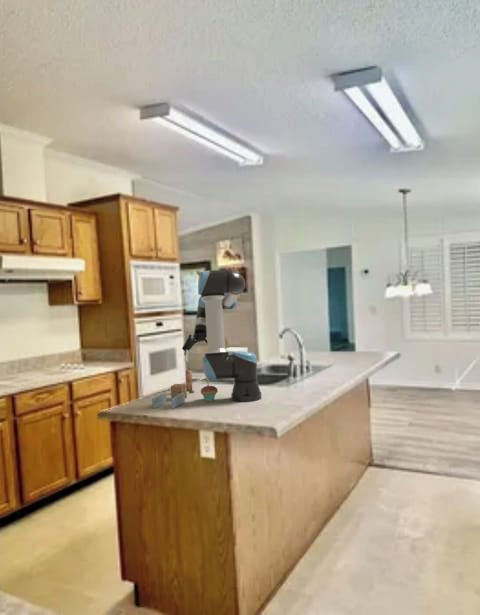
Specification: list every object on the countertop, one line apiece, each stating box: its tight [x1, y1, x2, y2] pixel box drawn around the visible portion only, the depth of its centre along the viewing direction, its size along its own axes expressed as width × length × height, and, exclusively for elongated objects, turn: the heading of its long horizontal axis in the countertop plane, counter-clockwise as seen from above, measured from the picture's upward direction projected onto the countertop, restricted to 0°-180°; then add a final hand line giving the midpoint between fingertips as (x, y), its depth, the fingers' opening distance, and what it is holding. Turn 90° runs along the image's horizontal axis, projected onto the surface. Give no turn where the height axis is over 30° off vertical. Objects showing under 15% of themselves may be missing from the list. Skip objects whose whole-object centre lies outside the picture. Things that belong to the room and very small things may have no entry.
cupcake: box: [200, 378, 219, 402], centre depth 244 cm, size 9×8×12 cm
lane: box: [151, 392, 186, 410], centre depth 237 cm, size 14×11×4 cm
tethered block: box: [170, 370, 195, 400], centre depth 256 cm, size 20×6×12 cm, turn 165°
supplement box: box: [219, 346, 249, 382], centre depth 300 cm, size 17×13×18 cm
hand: (197, 359), depth 273 cm, fingers open, 13 cm apart
